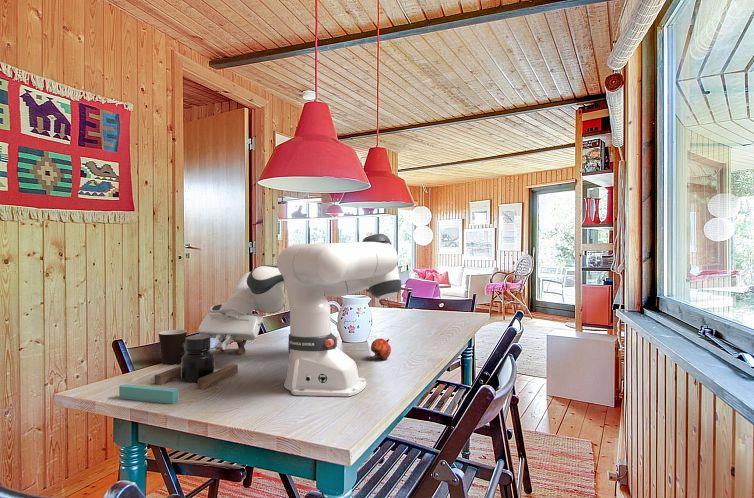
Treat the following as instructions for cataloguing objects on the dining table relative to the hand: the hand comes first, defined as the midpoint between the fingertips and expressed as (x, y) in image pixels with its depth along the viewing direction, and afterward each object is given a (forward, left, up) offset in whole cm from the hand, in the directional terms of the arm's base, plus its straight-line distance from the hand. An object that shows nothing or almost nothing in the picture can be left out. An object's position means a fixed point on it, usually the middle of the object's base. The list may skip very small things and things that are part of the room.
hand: (219, 348), depth 141 cm
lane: (0, +10, -6) cm, 12 cm away
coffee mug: (+20, -5, -7) cm, 22 cm away
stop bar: (0, +29, -6) cm, 30 cm away
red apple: (-45, -26, -7) cm, 52 cm away
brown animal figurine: (+9, -21, -7) cm, 24 cm away
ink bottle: (0, +10, -7) cm, 12 cm away
